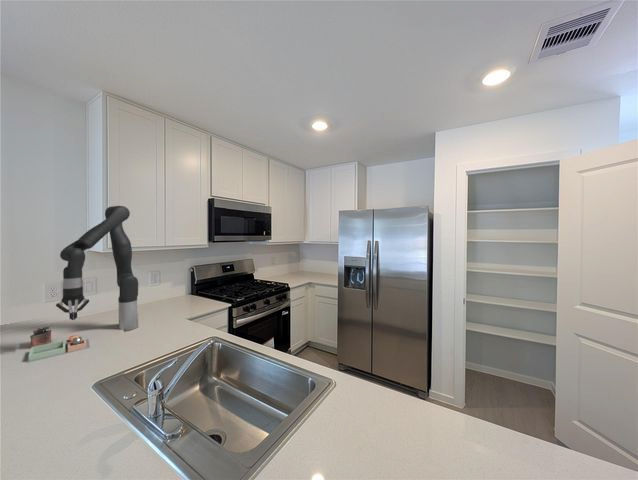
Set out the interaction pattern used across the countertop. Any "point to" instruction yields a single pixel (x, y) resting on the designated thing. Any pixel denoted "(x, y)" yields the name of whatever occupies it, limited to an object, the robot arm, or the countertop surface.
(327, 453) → the countertop surface
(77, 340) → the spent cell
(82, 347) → the divided organizer tray
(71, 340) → the button
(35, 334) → the lighter
